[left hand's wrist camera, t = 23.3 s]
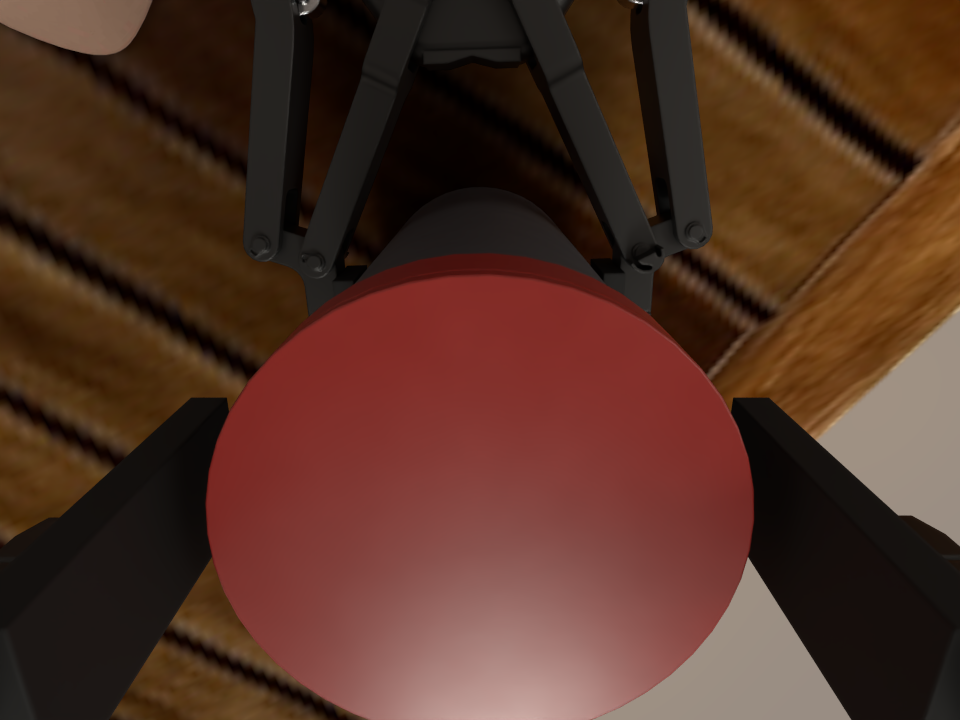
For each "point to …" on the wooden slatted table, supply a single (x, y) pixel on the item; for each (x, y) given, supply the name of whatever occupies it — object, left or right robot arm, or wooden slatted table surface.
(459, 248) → the jar
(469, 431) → the lid
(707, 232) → the right robot arm
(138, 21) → the anatomical model
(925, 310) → the wooden slatted table surface
